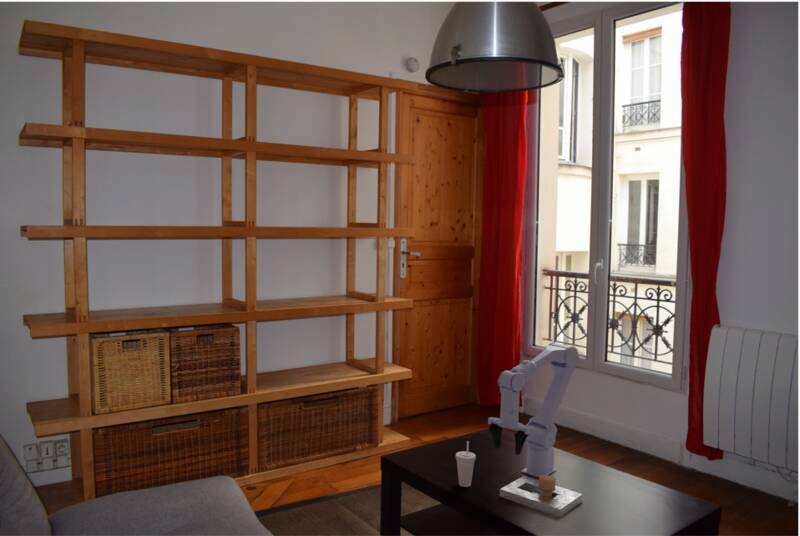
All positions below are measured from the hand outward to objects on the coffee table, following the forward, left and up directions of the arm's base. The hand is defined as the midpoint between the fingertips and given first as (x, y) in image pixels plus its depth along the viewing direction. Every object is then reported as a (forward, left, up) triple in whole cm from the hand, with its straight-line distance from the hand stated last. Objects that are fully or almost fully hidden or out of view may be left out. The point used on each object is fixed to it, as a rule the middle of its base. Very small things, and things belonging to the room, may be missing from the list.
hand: (507, 450), depth 204 cm
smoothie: (+11, -9, -11) cm, 17 cm away
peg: (+4, +16, -10) cm, 19 cm away
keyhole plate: (+4, +14, -10) cm, 18 cm away
